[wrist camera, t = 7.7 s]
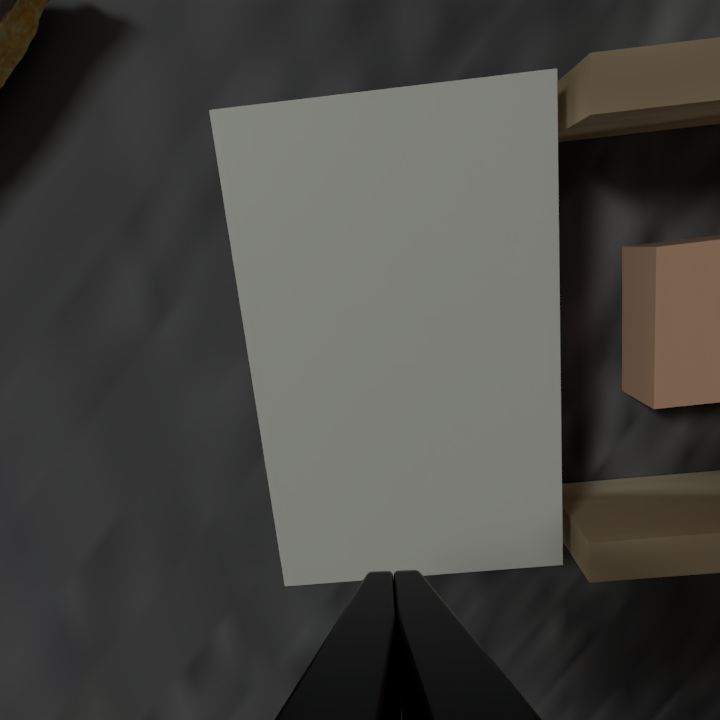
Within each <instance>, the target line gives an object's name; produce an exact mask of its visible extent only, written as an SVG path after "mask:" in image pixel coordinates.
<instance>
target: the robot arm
mask: <svg viewBox="0 0 720 720" xmlns="http://www.w3.org/2000/svg"><path fill="white" fill-rule="evenodd" d="M399 680H400V681H399ZM400 696H401V701H400ZM401 712H402V720H542V719H541V718H540V717H539V716H538V714H537V713H536V712H535V711H534V710H533V708H532V707H531V706H530V705H529V704H528V702H527V701H526V700H525V699H524V697H523V696H522V695H521V694H520V693H519V691H518V690H517V689H516V688H515V687H514V685H513V684H512V683H511V682H510V681H509V679H508V678H507V677H506V676H505V674H504V673H503V672H502V671H501V670H500V668H499V667H498V666H497V665H496V664H495V662H494V661H493V660H492V659H491V658H490V656H489V655H488V654H487V653H486V651H485V650H484V649H483V648H482V647H481V645H480V644H479V643H478V642H477V641H476V639H475V638H474V637H473V636H472V635H471V633H470V632H469V631H468V630H467V629H466V627H465V626H464V625H463V624H462V622H461V621H460V620H459V619H458V618H457V616H456V615H455V614H454V613H453V612H452V610H451V609H450V608H449V607H448V606H447V604H446V603H445V602H444V601H443V599H442V598H441V597H440V596H439V595H438V593H437V592H436V591H435V590H434V589H433V587H432V586H431V585H430V584H429V583H428V581H427V580H426V579H425V578H424V576H423V575H422V574H421V573H420V572H419V571H417V570H400V571H396V572H395V573H394V578H393V573H392V572H390V571H373V572H369V573H367V575H366V576H365V578H364V579H363V581H362V583H361V584H360V586H359V587H358V589H357V591H356V592H355V594H354V595H353V597H352V598H351V600H350V602H349V603H348V605H347V606H346V608H345V609H344V611H343V613H342V614H341V616H340V617H339V619H338V621H337V622H336V624H335V625H334V627H333V628H332V630H331V632H330V633H329V635H328V636H327V638H326V639H325V641H324V643H323V644H322V646H321V647H320V649H319V651H318V652H317V654H316V655H315V657H314V658H313V660H312V662H311V663H310V665H309V666H308V668H307V669H306V671H305V673H304V674H303V676H302V677H301V679H300V681H299V682H298V684H297V685H296V687H295V688H294V690H293V692H292V693H291V695H290V696H289V698H288V699H287V701H286V703H285V704H284V706H283V707H282V709H281V711H280V712H279V714H278V715H277V717H276V718H275V720H401Z"/></svg>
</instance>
